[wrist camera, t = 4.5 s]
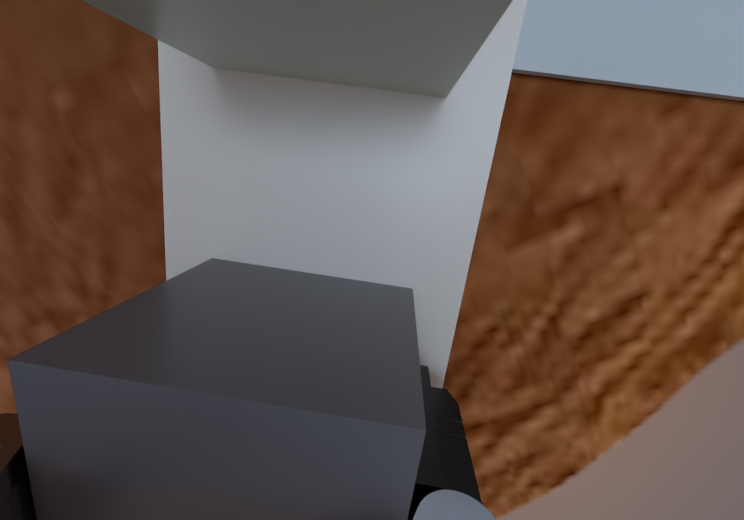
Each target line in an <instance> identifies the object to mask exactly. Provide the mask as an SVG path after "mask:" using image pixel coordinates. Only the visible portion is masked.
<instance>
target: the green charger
mask: <svg viewBox="0 0 744 520" xmlns="http://www.w3.org/2000/svg"><path fill="white" fill-rule="evenodd" d="M81 1H83V2H85V3H87V4H89V5H91V6H93V7H95V8H97V9H99V10H101V11H103V12H105V13H107V14H109V15H111V16H113V17H114V18H116V19H118V20H120V21H122V22H124V23H126V24H128V25H130V26H132V27H134V28H136V29H138V30H140V31H142V32H144V33H146V34H148V35H150V36H152V37H154V38H156V39H157V40H159V41H161V42H163V43H165V44H167V45H169V46H171V47H173V48H175V49H177V50H179V51H181V52H183V53H185V54H187V55H189V56H191V57H193V58H195V59H197V60H198V61H200V62H202V63H204V64H206V65H208V66H210V67H212V68H218V69H226V70H234V71H241V72H249V73H257V74H265V75H272V76H280V77H288V78H296V79H303V80H311V81H319V82H327V83H335V84H342V85H350V86H358V87H366V88H373V89H381V90H389V91H397V92H405V93H412V94H420V95H428V96H436V97H443V98H446V97H447V96H448V94H449V93H450V92H451V90H452V89H453V87H454V86H455V84H456V83H457V81H458V80H459V78H460V77H461V75H462V74H463V73H464V71H465V70H466V68H467V67H468V65H469V64H470V62H471V61H472V59H473V58H474V56H475V55H476V54H477V52H478V51H479V49H480V48H481V46H482V45H483V43H484V42H485V40H486V39H487V37H488V36H489V35H490V33H491V32H492V30H493V29H494V27H495V26H496V24H497V23H498V21H499V20H500V18H501V17H502V16H503V14H504V13H505V11H506V10H507V8H508V7H509V5H510V4H511V2H512V1H513V0H81Z"/></svg>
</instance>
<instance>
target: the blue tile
mask: <svg viewBox="0 0 744 520" xmlns="http://www.w3.org/2000/svg"><path fill="white" fill-rule="evenodd" d="M512 73H520V74H528V75H536V76H544V77H552V78H560V79H568V80H576V81H584V82H592V83H600V84H608V85H616V86H624V87H632V88H640V89H648V90H656V91H664V92H672V93H680V94H688V95H696V96H704V97H712V98H720V99H728V100H736V101H744V0H527V5H526V9H525V14H524V18H523V23H522V28H521V32H520V37H519V41H518V46H517V50H516V55H515V59H514V64H513V69H512Z"/></svg>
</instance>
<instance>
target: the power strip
mask: <svg viewBox="0 0 744 520" xmlns="http://www.w3.org/2000/svg"><path fill="white" fill-rule="evenodd" d="M526 5H527V0H513V1H512V2H511V4H510V5H509V7H508V8H507V10H506V11H505V13H504V14H503V16H502V17H501V18H500V20H499V21H498V23H497V24H496V26H495V27H494V29H493V30H492V32H491V33H490V35H489V36H488V37H487V39H486V40H485V42H484V43H483V45H482V46H481V48H480V49H479V51H478V52H477V54H476V55H475V56H474V58H473V59H472V61H471V62H470V64H469V65H468V67H467V68H466V70H465V71H464V73H463V74H462V75H461V77H460V78H459V80H458V81H457V83H456V84H455V86H454V87H453V89H452V90H451V92H450V93H449V94H448V96H447V97H446V98H443V97H436V96H428V95H420V94H412V93H405V92H397V91H389V90H381V89H373V88H366V87H358V86H350V85H342V84H335V83H327V82H319V81H311V80H303V79H296V78H288V77H280V76H272V75H265V74H257V73H249V72H241V71H234V70H226V69H218V68H212V67H210V66H208V65H206V64H204V63H202V62H200V61H198V60H197V59H195V58H193V57H191V56H189V55H187V54H185V53H183V52H181V51H179V50H177V49H175V48H173V47H171V46H169V45H167V44H165V43H163V42H161V41H159V40H158V60H159V89H160V117H161V145H162V174H163V202H164V231H165V259H166V281H167V280H169V279H171V278H173V277H175V276H177V275H179V274H181V273H183V272H185V271H187V270H189V269H191V268H193V267H195V266H197V265H199V264H201V263H203V262H205V261H207V260H209V259H211V258H215V259H221V260H228V261H235V262H241V263H248V264H254V265H261V266H267V267H274V268H281V269H287V270H294V271H300V272H307V273H313V274H320V275H327V276H333V277H340V278H346V279H353V280H359V281H366V282H373V283H379V284H386V285H392V286H399V287H405V288H412V289H413V297H414V307H415V318H416V328H417V339H418V349H419V360H420V365H425V366H428V368H429V376H430V383H431V387H436V388H442V387H443V383H444V378H445V374H446V369H447V364H448V360H449V355H450V351H451V346H452V342H453V337H454V333H455V328H456V323H457V319H458V314H459V310H460V305H461V301H462V296H463V292H464V287H465V282H466V278H467V273H468V269H469V264H470V260H471V255H472V251H473V246H474V241H475V237H476V232H477V228H478V223H479V219H480V214H481V210H482V205H483V201H484V196H485V191H486V187H487V182H488V178H489V173H490V169H491V164H492V160H493V155H494V150H495V146H496V141H497V137H498V132H499V128H500V123H501V119H502V114H503V109H504V105H505V100H506V96H507V91H508V87H509V82H510V78H511V73H512V69H513V64H514V59H515V55H516V50H517V46H518V41H519V37H520V32H521V28H522V23H523V18H524V14H525V9H526Z"/></svg>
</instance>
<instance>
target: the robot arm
mask: <svg viewBox="0 0 744 520" xmlns="http://www.w3.org/2000/svg"><path fill="white" fill-rule="evenodd" d="M420 370H421V381H422V391H423V402H424V412H425V423H426V434H425V439H424V444H423V448H422V453H421V458H420V462H419V467H418V472H417V476H416V481H415V486H414V490H413V495H412V500H411V505H410V509H409V514H408V519H407V520H496V519H495V518H494V516H493V515H492V514H491V513H490V511H489V510H488V509H487V508H485V507H484V506H483V505H482V502H481V498H480V494H479V490H478V486H477V482H476V477H475V473H474V469H473V465H472V461H471V456H470V452H469V448H468V444H467V440H466V439H465V436H466V435H465V431H464V427H463V424H462V419H461V414H460V410H459V406H458V404H457V402H456V401H455V400H454V398H453V397H452V396H451V394H450V393H449V392H448V390H447V389H442V388H436V387H431V383H430V376H429V368H428V366H425V365H420ZM0 520H37V518H36V512H35V507H34V502H33V496H32V491H31V485H30V480H29V474H28V469H27V463H26V458H25V452H24V447H23V441H22V436H21V430H20V425H19V419H18V414H13V413H4V414H0Z"/></svg>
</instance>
